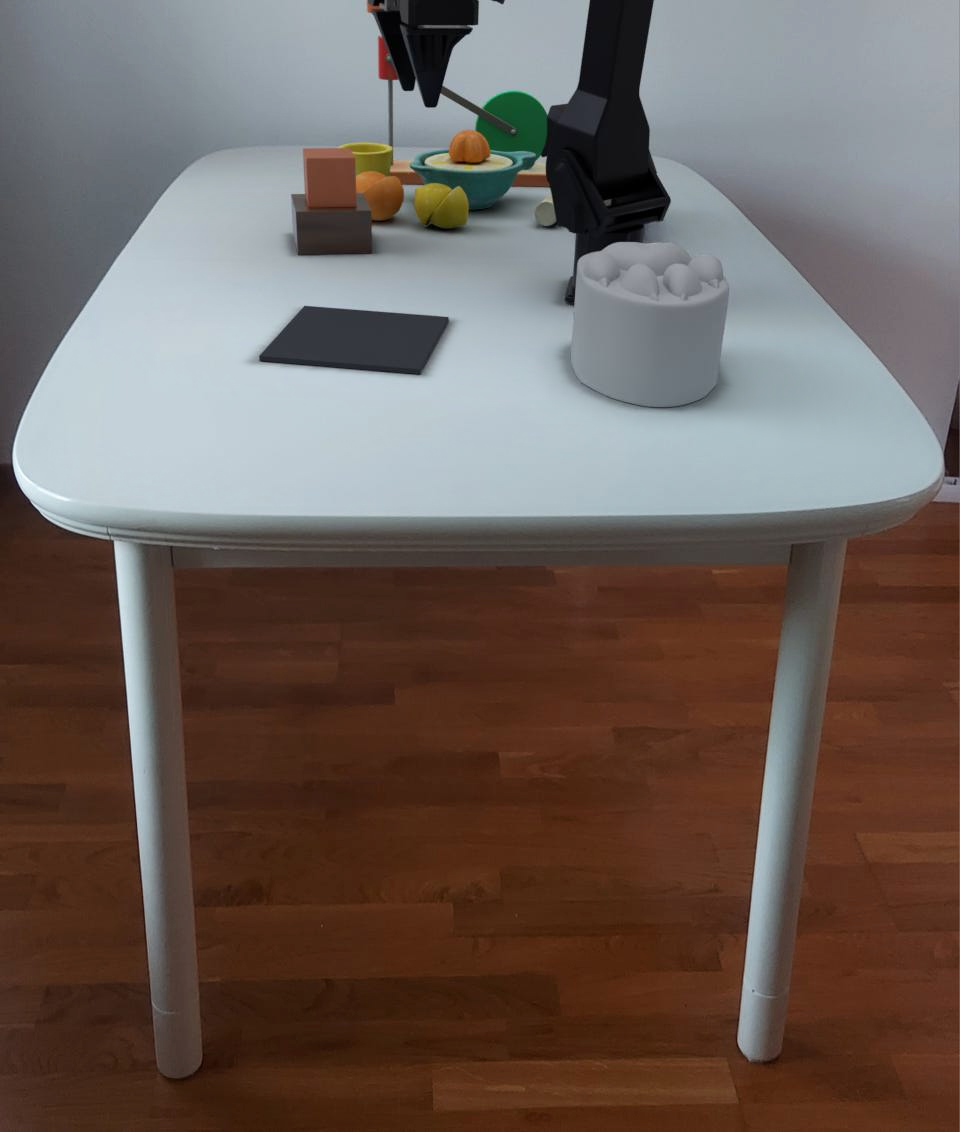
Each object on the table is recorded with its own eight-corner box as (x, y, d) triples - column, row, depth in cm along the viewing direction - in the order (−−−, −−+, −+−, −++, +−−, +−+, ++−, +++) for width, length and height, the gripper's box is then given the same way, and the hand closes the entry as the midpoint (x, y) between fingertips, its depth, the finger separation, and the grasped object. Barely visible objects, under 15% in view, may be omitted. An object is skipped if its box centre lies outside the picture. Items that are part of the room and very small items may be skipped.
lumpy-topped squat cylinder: (694, 343, 92) (709, 232, 88) (735, 407, 81) (754, 283, 77) (563, 342, 92) (571, 230, 87) (586, 406, 80) (596, 282, 76)
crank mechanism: (359, 183, 137) (356, 0, 127) (361, 170, 142) (358, -6, 133) (573, 186, 138) (585, 6, 128) (566, 174, 144) (578, 0, 134)
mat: (420, 374, 85) (420, 369, 84) (259, 360, 86) (258, 355, 86) (448, 321, 95) (448, 316, 95) (304, 310, 96) (304, 305, 96)
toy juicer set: (330, 232, 118) (327, 151, 114) (340, 189, 133) (338, 117, 129) (614, 236, 119) (621, 157, 115) (591, 194, 135) (596, 123, 131)
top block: (356, 207, 110) (355, 157, 108) (308, 208, 109) (306, 158, 107) (351, 196, 114) (350, 147, 112) (304, 196, 113) (302, 148, 111)
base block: (372, 253, 111) (371, 210, 109) (297, 254, 110) (295, 211, 108) (363, 233, 117) (362, 192, 115) (293, 235, 116) (291, 194, 114)
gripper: (541, -84, 97) (530, 115, 105) (479, -92, 113) (474, 82, 121) (409, -87, 95) (409, 117, 102) (365, -95, 110) (367, 83, 118)
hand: (419, 98), depth 111 cm, fingers open, 9 cm apart
